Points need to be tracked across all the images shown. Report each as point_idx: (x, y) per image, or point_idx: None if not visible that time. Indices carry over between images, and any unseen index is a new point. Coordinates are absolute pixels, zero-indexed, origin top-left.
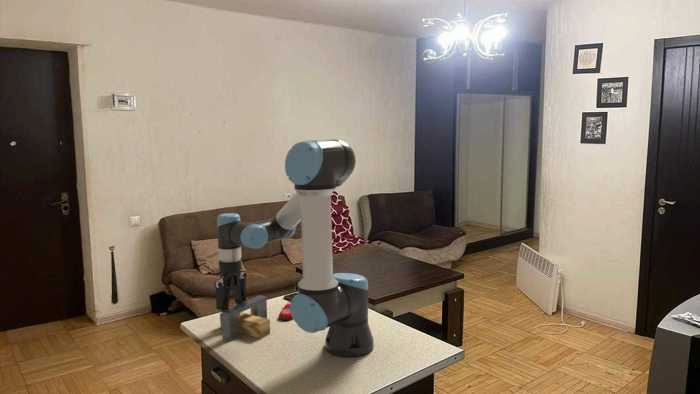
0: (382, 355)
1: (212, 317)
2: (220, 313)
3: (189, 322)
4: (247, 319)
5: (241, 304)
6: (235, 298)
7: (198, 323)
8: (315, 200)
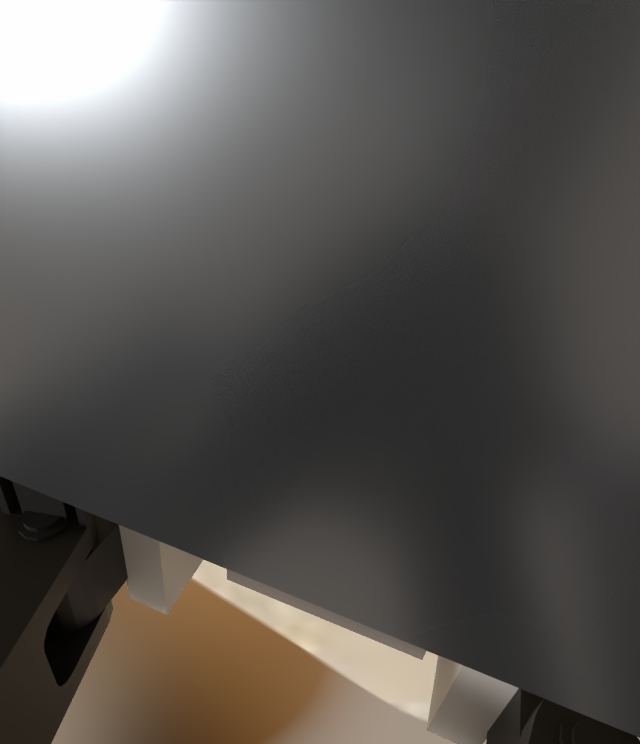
0: None
1: (266, 602)
2: (416, 656)
3: (423, 716)
4: None
5: (437, 530)
6: (43, 725)
7: (419, 667)
8: None
